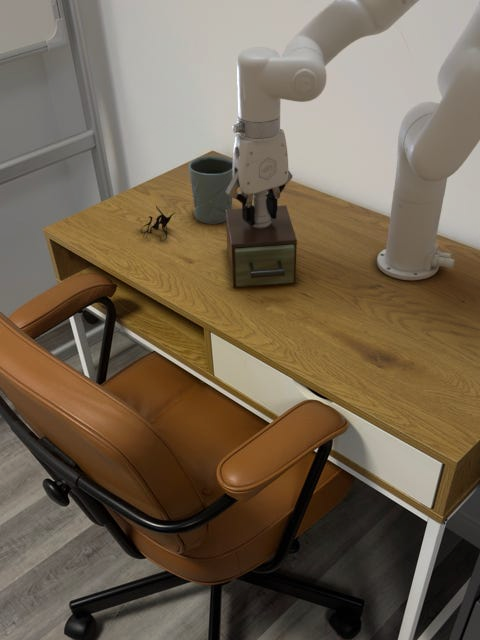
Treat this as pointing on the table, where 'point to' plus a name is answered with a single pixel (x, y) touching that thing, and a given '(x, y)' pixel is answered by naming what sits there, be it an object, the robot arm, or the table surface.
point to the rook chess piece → (261, 210)
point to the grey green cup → (211, 188)
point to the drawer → (264, 265)
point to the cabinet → (258, 235)
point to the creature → (163, 221)
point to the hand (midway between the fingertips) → (260, 218)
